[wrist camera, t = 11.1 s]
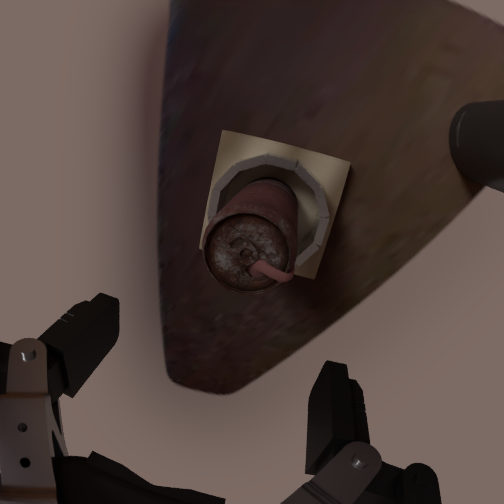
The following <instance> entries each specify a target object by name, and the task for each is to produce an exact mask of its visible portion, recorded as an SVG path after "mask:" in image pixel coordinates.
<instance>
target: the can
mask: <svg viewBox="0 0 504 504" xmlns="http://www.w3.org/2000/svg"><path fill="white" fill-rule="evenodd" d="M297 226H298V202H297V198H296V195H295V193H294V192H293V190H292V189H291V188H290V186H288V185H287V184H286V183H284V182H283V181H282V180H279V179H276V178H273V177H261V178H258V179H255V180H253V181H251V182H250V183H248V184H247V185H245V186H244V187H243V188H242V189H241V190H240V191H239V192H238V193H237V194H236V195H235V196H234V197H233V198H232V199H231V200H230V201H229V202H228V203H227V204H226V205H225V206H224V207H223V208H222V209H221V210H220V211H219V212H218V213H217V214H216V215H215V216H214V217H213V218H212V220H211V221H210V223H209V224H208V226H207V227H206V229H205V233H204V236H203V240H202V250H203V257H204V261H205V263H206V266H207V268H208V271H209V273H210V274H211V275H212V277H213V278H214V279H215V280H216V282H217V283H219V284H220V285H222V286H223V287H224V288H226V289H227V290H229V291H232V292H235V293H238V294H243V295H256V294H261V293H265V292H267V291H270V290H271V289H273V288H275V287H276V286H278V285H280V284H282V283H283V282H288V281H289V280H291V279H292V278H293V275H294V271H295V262H296V254H297Z"/></svg>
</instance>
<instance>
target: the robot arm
mask: <svg viewBox="0 0 504 504" xmlns="http://www.w3.org/2000/svg"><path fill="white" fill-rule="evenodd" d="M449 144H450V149H451V154H452V156H453V159H454V162H455V163H456V165H457V167H458V168H459V170H460V171H461V172H462V173H463V174H464V175H465V176H466V177H468V178H469V179H471V180H473V181H475V182H477V183H480V184H483V185H486V186H488V187H491V188H493V189H496V190H498V191H501V192H503V193H504V100H497V101H484V102H474V103H470V104H467V105H465V106H463V107H462V108H461V109H460V110H459V111H458V112H457V113H456V115H455V117H454V118H453V121H452V123H451V126H450V133H449ZM118 336H119V300H118V299H117V298H114V297H112V296H109V295H106V294H103V293H99V294H98V295H97V296H95V297H94V298H93V299H92V300H91V301H90V302H89V301H83V302H81V303H78V304H76V305H74V306H73V307H72V308H71V309H70V310H68V311H67V313H66V314H64V315H63V316H62V317H61V318H60V319H58V320H57V321H56V322H55V323H54V324H53V325H52V326H51V327H49V328H48V329H47V330H46V331H45V332H44V333H43V334H42V335H41V336H40V337H39V338H38V339H34V338H24V339H21V340H19V341H17V342H15V343H14V344H13V345H11V344H7V343H3V342H0V471H1V473H0V504H225V500H226V499H224V498H220V497H216V496H212V495H208V494H205V493H201V492H198V491H194V490H191V489H180V488H171V487H162V486H156V485H153V484H150V483H149V482H147V481H146V480H144V479H143V478H141V477H140V476H138V475H137V474H135V473H134V472H132V471H131V470H129V469H128V468H127V467H125V466H124V465H122V464H120V463H118V462H115V461H113V460H111V459H109V458H106V457H104V456H102V455H100V454H98V453H96V452H94V451H92V453H91V454H90V456H89V457H88V458H87V457H80V456H69V455H68V452H67V448H66V445H65V440H64V433H63V426H62V420H61V411H60V403H59V397H60V396H61V395H62V394H63V393H64V394H66V395H68V396H70V397H71V398H73V397H74V396H75V395H76V393H77V392H78V391H79V389H80V388H81V387H82V385H83V384H84V383H85V382H86V380H87V379H88V378H89V377H90V375H91V374H92V373H93V371H94V370H95V369H96V368H97V366H98V365H99V364H100V362H101V361H102V360H103V359H104V357H105V356H106V355H107V354H108V352H109V351H110V350H111V349H112V347H113V346H114V345H115V343H116V341H117V339H118ZM365 410H366V409H365V404H364V396H363V390H362V389H361V387H360V386H359V384H358V383H357V381H356V380H353V379H349V377H348V369H347V365H346V364H342V363H337V362H332V361H328V360H327V361H326V362H325V364H324V365H323V368H322V369H321V372H320V373H319V376H318V378H317V380H316V382H315V384H314V386H313V388H312V390H311V393H310V396H309V402H308V424H307V427H308V428H307V447H306V466H305V474H310V475H315V476H314V477H313V478H312V479H311V480H310V481H309V482H306V483H305V484H303V485H302V486H301V487H300V488H298V489H297V490H296V491H295V492H294V493H293V494H291V495H290V496H289V497H288V498H287V499H286V500H284V501H283V502H282V503H281V504H442V503H441V496H440V490H439V483H438V478H437V475H436V474H435V472H434V471H433V469H431V468H430V467H429V466H427V465H425V464H422V463H413V464H411V465H409V466H408V467H407V468H406V469H405V470H404V469H401V468H398V467H396V466H393V465H390V464H387V463H385V462H383V461H382V459H381V456H380V454H379V452H378V451H377V450H376V449H375V448H374V447H373V446H371V445H370V438H369V431H368V424H367V416H366V412H365Z"/></svg>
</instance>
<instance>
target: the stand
mask: <svg viewBox="0 0 504 504" xmlns="http://www.w3.org/2000/svg"><path fill="white" fill-rule="evenodd" d="M267 152H268V153H271V152H273V153H277V154H281V155H285V156H288V157H292V158H296V159H297V162H298V161H299V160H300V161H301V162H302V163H303V164H304V165H305V166H306V167H307V168H308V169H309V170H310V171H311V172H312V173H313V174H314V175H315V176H316V177H317V178H318V179H319V181H320V183H321V185H322V188H323V192H324V196H325V200H326V204H327V208H328V212H329V222H328V226H327V229H326V232H325V235H324V238H323V241H322V245H321V246H320V245H319V249H318V250H317V251H316V252H315V253H314V254H313V255H311V256H310V257H309V258H308V259H307V260H306V261H305V262H304V263H303V264H301V265H300V266H298V265H297V268H295V271H294V274H295V275H299V276H303V277H306V278H310V279H315V276H316V273H317V271H318V268H319V265H320V262H321V259H322V256H323V252H324V249H325V246H326V243H327V240H328V237H329V234H330V231H331V228H332V224H333V221H334V218H335V215H336V211H337V208H338V205H339V202H340V198H341V195H342V191H343V188H344V185H345V181H346V178H347V174H348V171H349V167H350V162H348V161H345V160H341V159H338V158H335V157H331V156H328V155H325V154H321V153H318V152H314V151H310V150H307V149H303V148H299V147H296V146H292V145H288V144H284V143H280V142H276V141H272V140H268V139H263V138H259V137H255V136H250V135H246V134H241V133H237V132H232V131H227V130H223V131H222V135H221V140H220V144H219V149H218V154H217V158H216V163H215V168H214V173H213V178H212V182H211V187H210V193H209V198H208V203H207V208H206V213H205V219H204V224H203V229H202V235H201V240H200V246H199V249H202V240H203V236H204V233H205V229H206V227H207V226H208V224H209V222H208V219H207V218H208V217H209V216H207V213H208V208H209V202H210V197H211V192H212V188H214V185H215V184H216V183H217V181H218V180H219V179H220V178H221V177H222V176H223V175H224V174H225V173H226V172H227V170H228V169H229V168H230V167H231V166H232V165H233V164H235V163H237V162H239V161H241V160H243V159H246V158H250V157H253V156H257V155H260V154H264V153H267ZM261 177H273V178H276V179H279V180H282V181H283V182H284V183H286V184H287V185H288V186H290V188H291V189H292V190H293V192H294V193H295V195H296V198H297V202H298V226H297V243H298V242H299V241H300V240H301V239H303V238H304V237H305V236H306V235H307V234H308V233H309V232H310V231H311V230H312V227H313V224H314V220H315V217H316V214H317V210H318V205H317V201H316V197H315V193H314V190H313V189H312V188H311V187H310V186H309V185H308V184H307V183H306V182H305V181H304V180H303V179H301V178H300V177H299V176H298V175H297V174H296V173H295V172H294V171H292V170H289V169H285V168H281V167H277V166H273V165H269V164H263V165H259V166H256V167H252V168H249V169H245V170H243V171H242V172H241V173H240V174H239V175H238V176H237V177H236V178H235V179H234V180H233V181H232V182H231V184H230V186H229V190H228V195H227V200H226V204H227V203H228V202H229V201H230V200H231V199H232V198H233V197H234V196H235V195H236V194H237V193H238V192H239V191H240V190H241V189H242V188H243V187H244V186H245V185H247V184H248V183H250V182H251V181H253V180H255V179H258V178H261ZM226 204H225V205H226Z"/></svg>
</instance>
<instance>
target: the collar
mask: <svg viewBox="0 0 504 504" xmlns="http://www.w3.org/2000/svg"><path fill="white" fill-rule="evenodd" d="M263 164H269V165H273V166H277V167H281V168H285V169H289V170H292V171H294V172H295V173H296V174H297V175H298V176H299V177H300V178H301V179H303V180H304V181H305V182H306V183H307V184H308V185H309V186H310V187H311V188H312V189H313V190H314V193H315V197H316V201H317V205H318V210H317V214H316V217H315V220H314V224H313V227H312V230H311V231H310V232H309V233H308V234H307V235H306V236H305V237H304V238H303V239H301V240H300V241H299V242H298V243H297V254H296V262H295V268H297V265H298V266H300V265H301V264H303V263H304V262H305V261H306V260H307V259H308V258H309V257H310V256H311V255H313V254H314V253H315V252H316V251H317V250H318V249H319V245H320V246H321V245H322V241H323V238H324V235H325V232H326V229H327V226H328V222H329V212H328V208H327V204H326V200H325V196H324V192H323V188H322V185H321V183H320V181H319V179H318V178H317V177H316V176H315V175H314V174H313V173H312V172H311V171H310V170H309V169H308V168H307V167H306V166H305V165H304V164H303V163H302V162H301V161H300V160H299V161H298V162H297V159H296V158H292V157H288V156H285V155H281V154H277V153H273V152H271V153H268V152H267V153H264V154H260V155H257V156H253V157H250V158H246V159H243V160H241V161H239V162H237V163H235V164H233V165H232V166H231V167H230V168H229V169H228V170H227V172H226V173H225V174H224V175H223V176H222V177H221V178H220V179H219V180H218V181H217V183H216V184H215V185H214V188H212V192H211V197H210V202H209V208H208V213H207V216H209V217H208V218H207V219H208V222H209V223H210V221H211V220H212V218H213V217H214V216H215V215H216V214H217V213H218V212H219V211H220V210H221V209H222V208H223V207H224V206H225V204H226V200H227V195H228V190H229V186H230V184H231V182H232V181H233V180H234V179H235V178H236V177H237V176H238V175H239V174H240V173H241V172H242V171H243V170H245V169H249V168H252V167H256V166H259V165H263Z"/></svg>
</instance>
